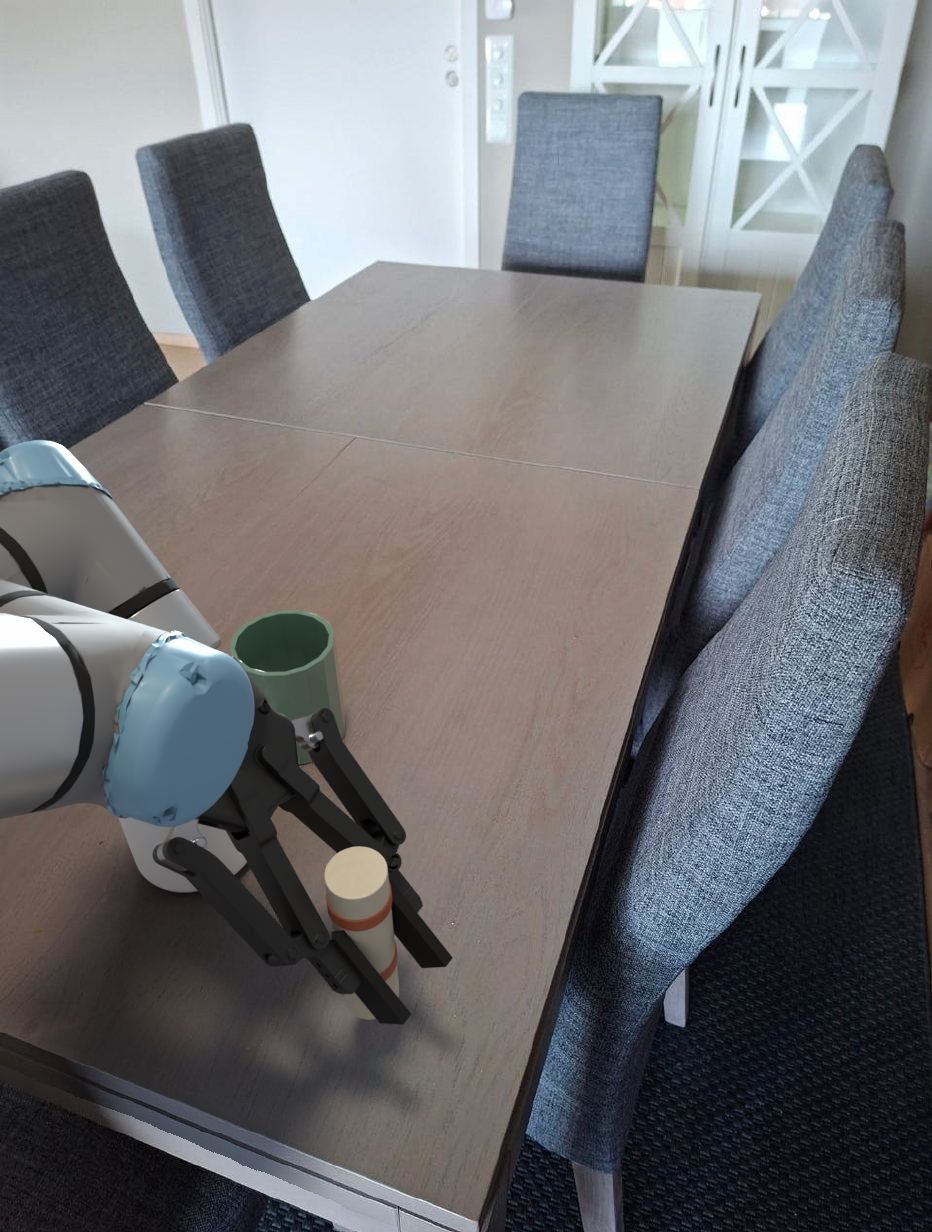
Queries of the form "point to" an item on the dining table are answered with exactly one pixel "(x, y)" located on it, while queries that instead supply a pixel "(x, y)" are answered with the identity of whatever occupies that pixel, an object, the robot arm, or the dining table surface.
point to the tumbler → (292, 665)
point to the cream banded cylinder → (363, 913)
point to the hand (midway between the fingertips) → (416, 989)
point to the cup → (149, 836)
